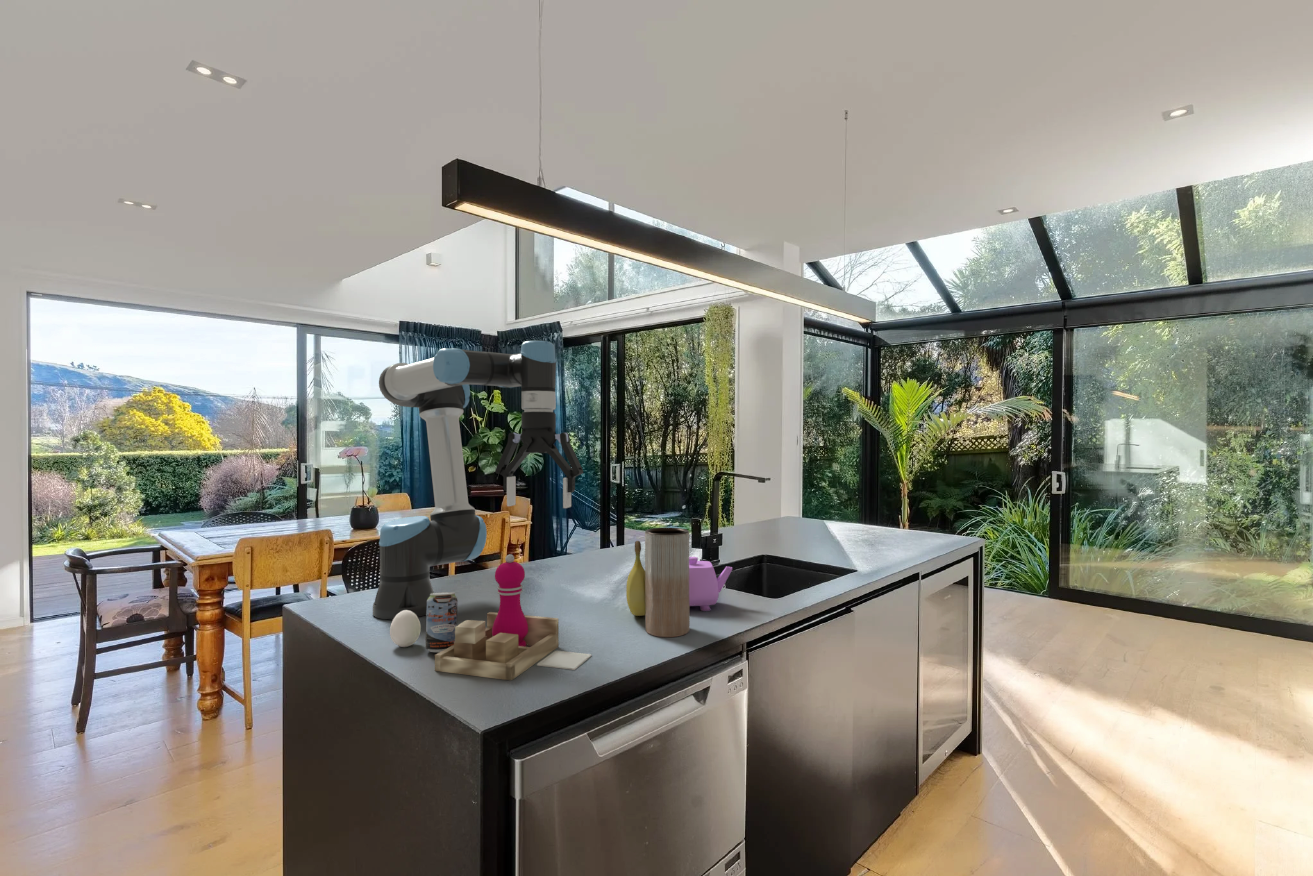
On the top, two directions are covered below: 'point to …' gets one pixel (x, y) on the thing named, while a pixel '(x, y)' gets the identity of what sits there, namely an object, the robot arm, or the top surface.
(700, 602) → the teapot
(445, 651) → the tray
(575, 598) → the top surface
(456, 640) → the block
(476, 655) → the block
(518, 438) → the robot arm
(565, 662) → the mat
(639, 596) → the banana
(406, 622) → the egg
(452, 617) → the beverage can
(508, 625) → the pepper mill
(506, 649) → the block
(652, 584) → the planter
